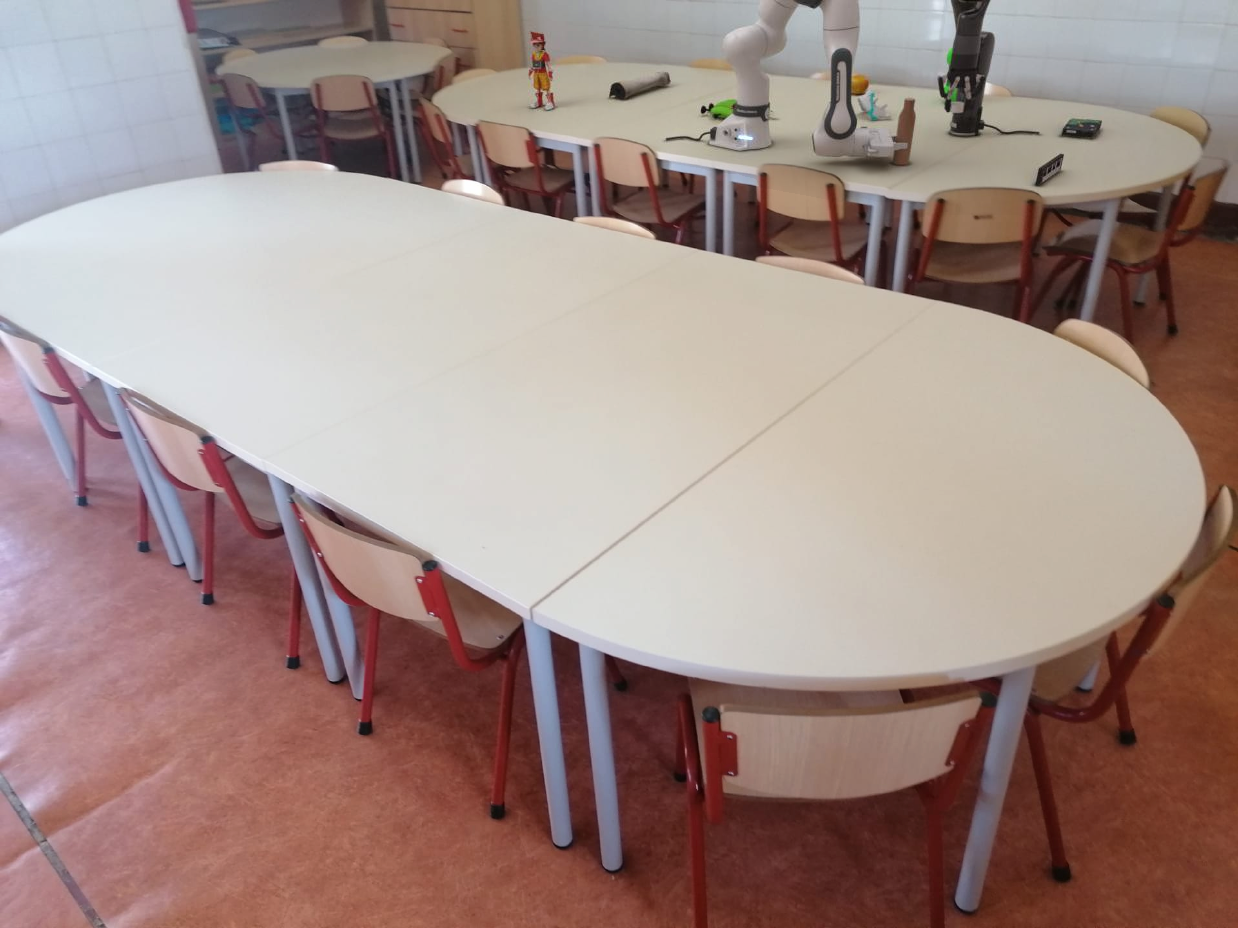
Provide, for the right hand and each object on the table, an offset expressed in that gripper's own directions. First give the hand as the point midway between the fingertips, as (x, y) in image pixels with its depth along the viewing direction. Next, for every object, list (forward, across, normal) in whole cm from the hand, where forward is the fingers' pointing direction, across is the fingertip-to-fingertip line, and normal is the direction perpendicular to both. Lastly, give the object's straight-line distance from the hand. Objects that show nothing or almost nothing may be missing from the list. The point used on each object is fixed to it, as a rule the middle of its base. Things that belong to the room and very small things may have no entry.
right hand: (955, 111), depth 272 cm
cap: (-2, 0, 0) cm, 2 cm away
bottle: (+19, +13, -12) cm, 26 cm away
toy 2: (+19, +67, -75) cm, 103 cm away
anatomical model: (+19, +17, -72) cm, 76 cm away
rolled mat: (+19, +113, -120) cm, 166 cm away
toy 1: (+19, +152, -95) cm, 180 cm away
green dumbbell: (+18, -16, -92) cm, 95 cm away
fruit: (+19, +20, -109) cm, 113 cm away
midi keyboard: (+19, -29, +5) cm, 35 cm away
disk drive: (+18, -51, -45) cm, 71 cm away
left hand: (+12, +12, -12) cm, 21 cm away
